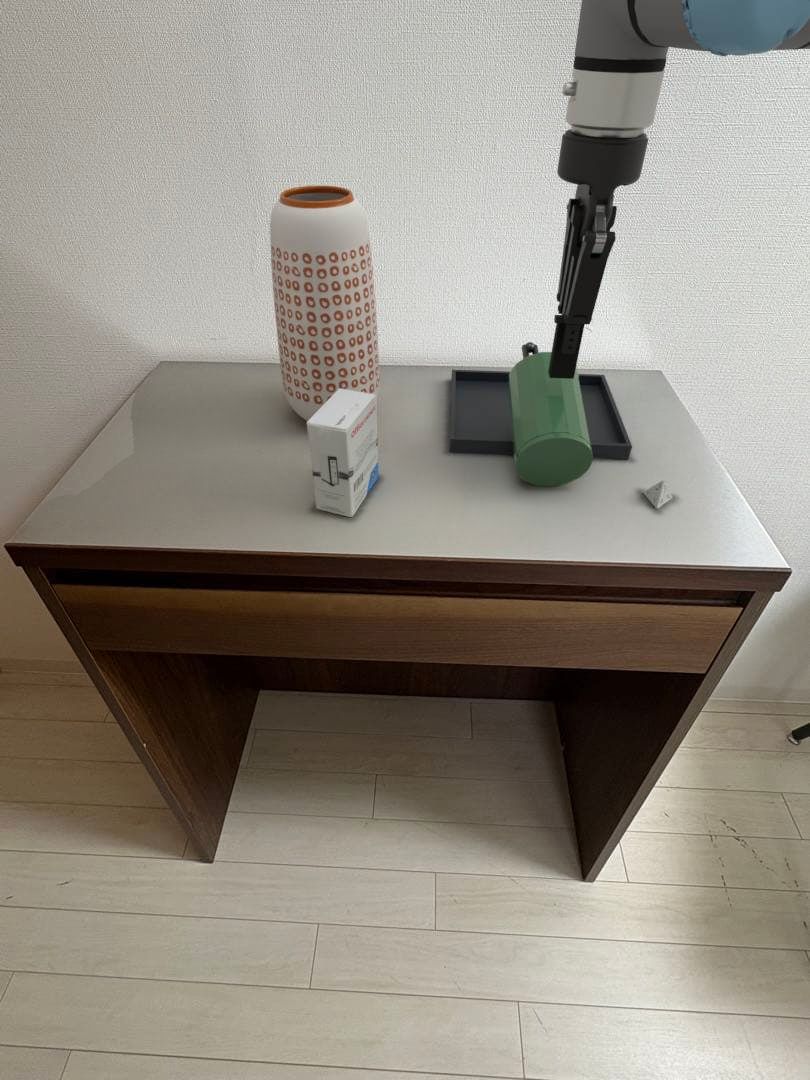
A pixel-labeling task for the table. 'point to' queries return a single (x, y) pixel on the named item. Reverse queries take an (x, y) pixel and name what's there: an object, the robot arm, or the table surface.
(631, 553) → the table surface
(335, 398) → the ink box
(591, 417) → the tray
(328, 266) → the vase
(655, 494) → the tetrahedral die
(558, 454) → the cup
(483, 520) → the table surface
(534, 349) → the tongs
